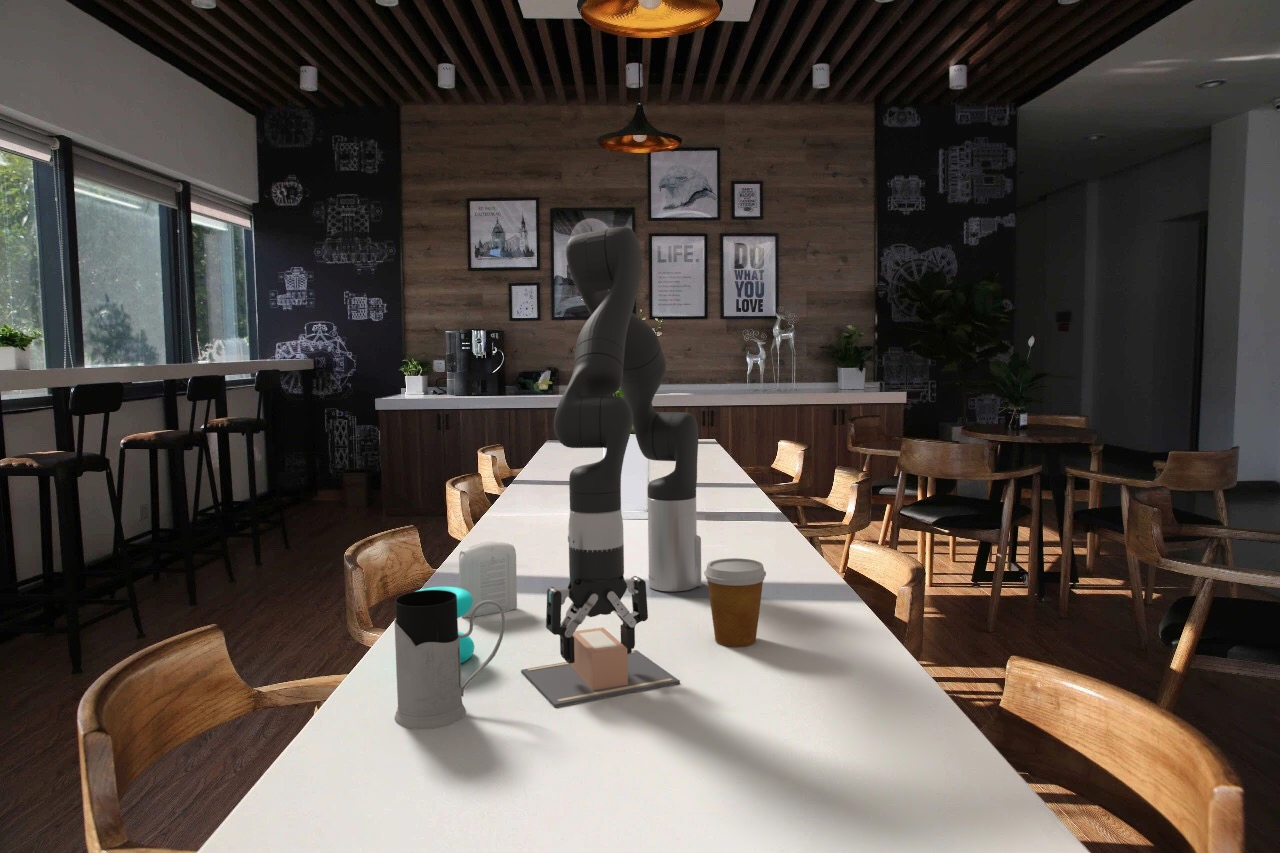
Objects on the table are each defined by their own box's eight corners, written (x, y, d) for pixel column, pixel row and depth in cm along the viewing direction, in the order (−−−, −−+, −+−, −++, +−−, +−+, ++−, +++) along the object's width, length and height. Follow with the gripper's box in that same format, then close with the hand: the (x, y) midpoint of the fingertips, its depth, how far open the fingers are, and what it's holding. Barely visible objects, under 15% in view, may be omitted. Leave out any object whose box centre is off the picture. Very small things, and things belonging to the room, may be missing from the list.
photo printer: (510, 604, 163) (508, 536, 162) (521, 609, 159) (519, 540, 158) (456, 614, 157) (454, 544, 156) (466, 620, 154) (463, 548, 152)
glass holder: (390, 707, 117) (385, 593, 115) (499, 690, 122) (496, 580, 121) (399, 733, 109) (394, 611, 107) (515, 714, 114) (511, 597, 113)
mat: (636, 652, 136) (636, 649, 136) (679, 683, 123) (679, 679, 123) (521, 672, 128) (521, 669, 128) (554, 707, 116) (554, 703, 116)
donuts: (428, 582, 140) (484, 587, 137) (430, 645, 141) (487, 651, 138) (389, 599, 131) (448, 605, 127) (391, 666, 132) (451, 674, 128)
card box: (627, 684, 122) (627, 647, 122) (592, 690, 120) (591, 652, 120) (603, 661, 131) (603, 626, 131) (570, 665, 130) (569, 631, 129)
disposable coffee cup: (771, 633, 144) (771, 559, 143) (759, 653, 135) (759, 574, 134) (713, 628, 147) (712, 555, 146) (697, 647, 138) (696, 570, 137)
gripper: (556, 552, 118) (559, 674, 119) (654, 541, 124) (656, 657, 125) (537, 541, 125) (540, 656, 126) (632, 531, 131) (633, 641, 132)
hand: (598, 656), depth 126 cm, fingers open, 8 cm apart
